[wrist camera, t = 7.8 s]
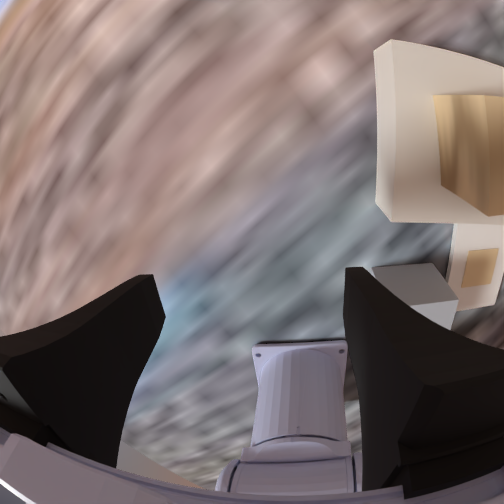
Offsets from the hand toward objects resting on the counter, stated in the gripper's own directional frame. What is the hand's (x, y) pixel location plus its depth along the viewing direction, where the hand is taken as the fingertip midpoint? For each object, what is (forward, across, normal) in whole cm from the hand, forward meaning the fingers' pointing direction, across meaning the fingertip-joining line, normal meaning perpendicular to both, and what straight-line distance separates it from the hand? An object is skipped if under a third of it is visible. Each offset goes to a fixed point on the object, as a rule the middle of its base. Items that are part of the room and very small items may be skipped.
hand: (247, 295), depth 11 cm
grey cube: (+10, -10, +7) cm, 16 cm away
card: (+10, -17, +5) cm, 20 cm away
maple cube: (+6, -12, -5) cm, 15 cm away
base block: (+10, -12, -5) cm, 17 cm away
